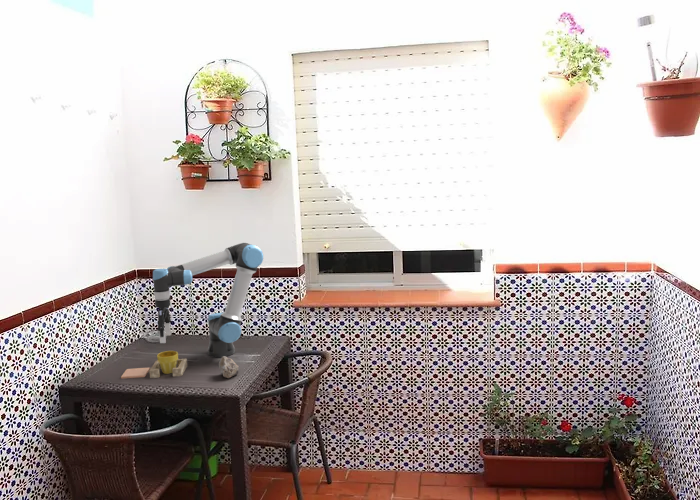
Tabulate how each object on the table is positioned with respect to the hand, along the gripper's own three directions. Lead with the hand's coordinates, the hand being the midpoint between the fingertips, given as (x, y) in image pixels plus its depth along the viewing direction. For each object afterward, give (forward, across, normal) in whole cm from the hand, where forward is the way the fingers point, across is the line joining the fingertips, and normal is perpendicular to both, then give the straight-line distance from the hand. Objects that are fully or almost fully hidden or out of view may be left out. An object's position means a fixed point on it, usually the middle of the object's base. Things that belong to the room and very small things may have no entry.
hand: (165, 339), depth 341 cm
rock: (+18, +13, +32) cm, 39 cm away
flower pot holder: (+18, 0, 0) cm, 18 cm away
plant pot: (+18, 0, 0) cm, 18 cm away
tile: (+18, 0, -17) cm, 24 cm away
